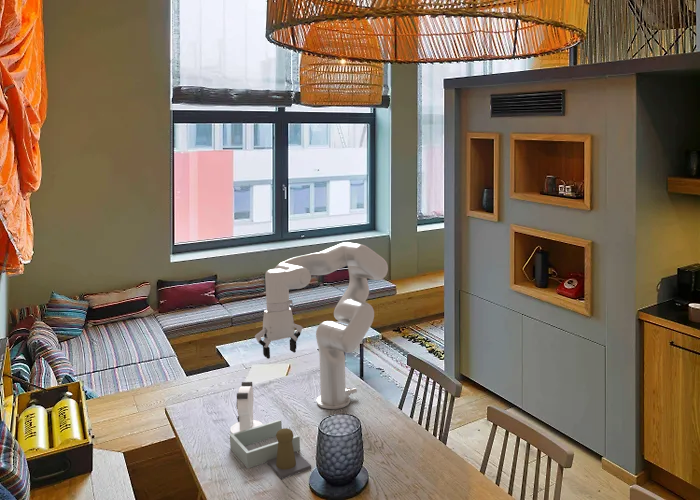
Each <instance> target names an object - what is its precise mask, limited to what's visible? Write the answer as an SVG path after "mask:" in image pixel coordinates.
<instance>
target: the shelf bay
mask: <svg viewBox="0 0 700 500" xmlns="http://www.w3.org/2000/svg"><path fill="white" fill-rule="evenodd" d="M262 424H263V425H260V426H257V427H253V428H250V429H247V430H243V431H240V432H237V433H233V434H232V433H230V434H229V445H230V450H231V451H232V452H233V453H234V455H235V456H236V457H237V458H238V459H239V460H240V461H241V463H242V464H243V465H244V466H245V467H246V468H247V469H251V468H253V467H256V466H259V465H262V464H265V463H267V461H268V460H271V459H274V458H277V449H278V441H276V442H272V443H269V444H265V445H263V446H260V447H256V448H253V449H251V450H248V448H247V447H246V446H249V445H252V444H256V443H259V442H261V441H264V440H265V441H266V440H268V439H271V438H276V434H277V432H278V431H279V430H280V429H283V426H282V419H277V420H274V421H270V422H266V423H262ZM300 437H301V436H300V435H298V434H297V435H293V440H292V444H293V449H294V452H295V451H296V452H297V453H299V452H300V451H301V439H300Z"/></svg>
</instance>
